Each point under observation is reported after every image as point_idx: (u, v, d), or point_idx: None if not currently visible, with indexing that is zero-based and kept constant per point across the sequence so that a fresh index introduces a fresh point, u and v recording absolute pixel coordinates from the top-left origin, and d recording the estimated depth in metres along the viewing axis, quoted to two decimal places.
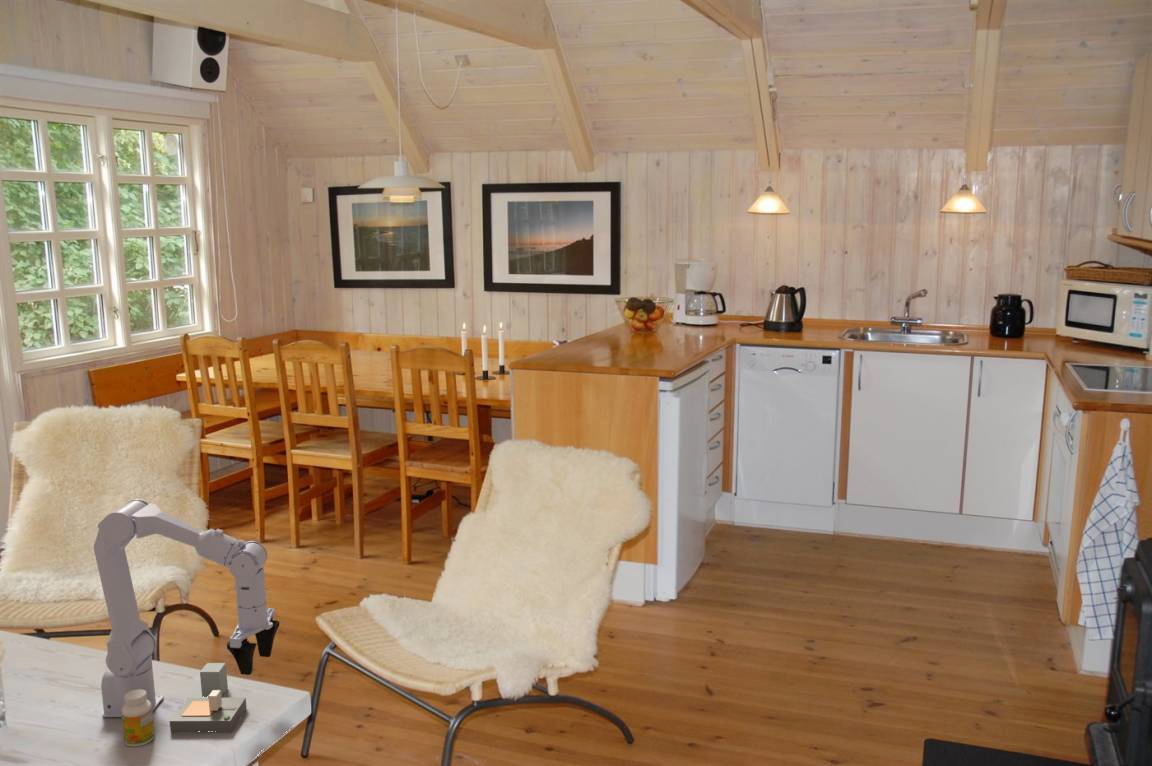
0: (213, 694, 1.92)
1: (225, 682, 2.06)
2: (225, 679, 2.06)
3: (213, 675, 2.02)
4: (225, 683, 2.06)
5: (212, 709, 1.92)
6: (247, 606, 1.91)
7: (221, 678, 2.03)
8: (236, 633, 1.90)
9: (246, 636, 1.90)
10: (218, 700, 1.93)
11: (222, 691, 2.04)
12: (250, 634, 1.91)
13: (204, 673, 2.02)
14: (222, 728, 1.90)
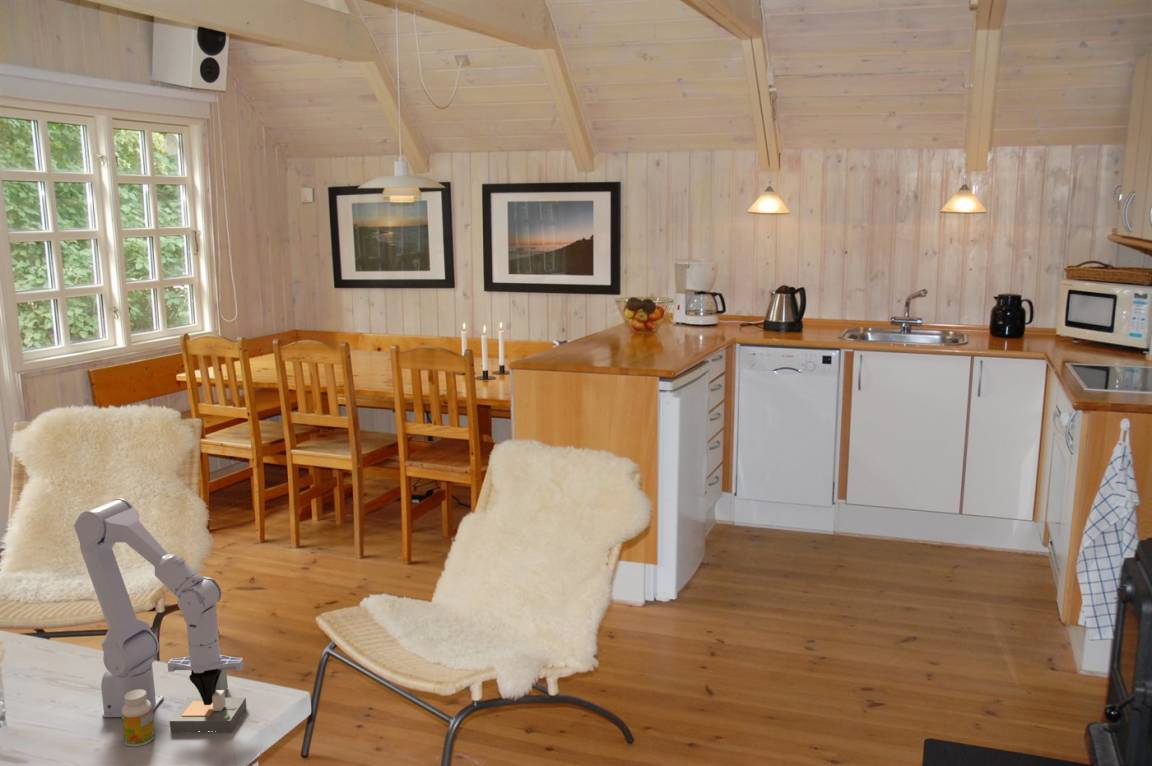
0: (217, 694, 1.92)
1: (225, 682, 2.06)
2: (225, 679, 2.06)
3: None
4: (225, 683, 2.06)
5: (216, 709, 1.92)
6: (195, 644, 1.88)
7: (221, 678, 2.03)
8: (184, 659, 1.93)
9: (177, 665, 1.90)
10: (222, 700, 1.93)
11: None
12: (181, 666, 1.90)
13: None
14: (222, 728, 1.90)
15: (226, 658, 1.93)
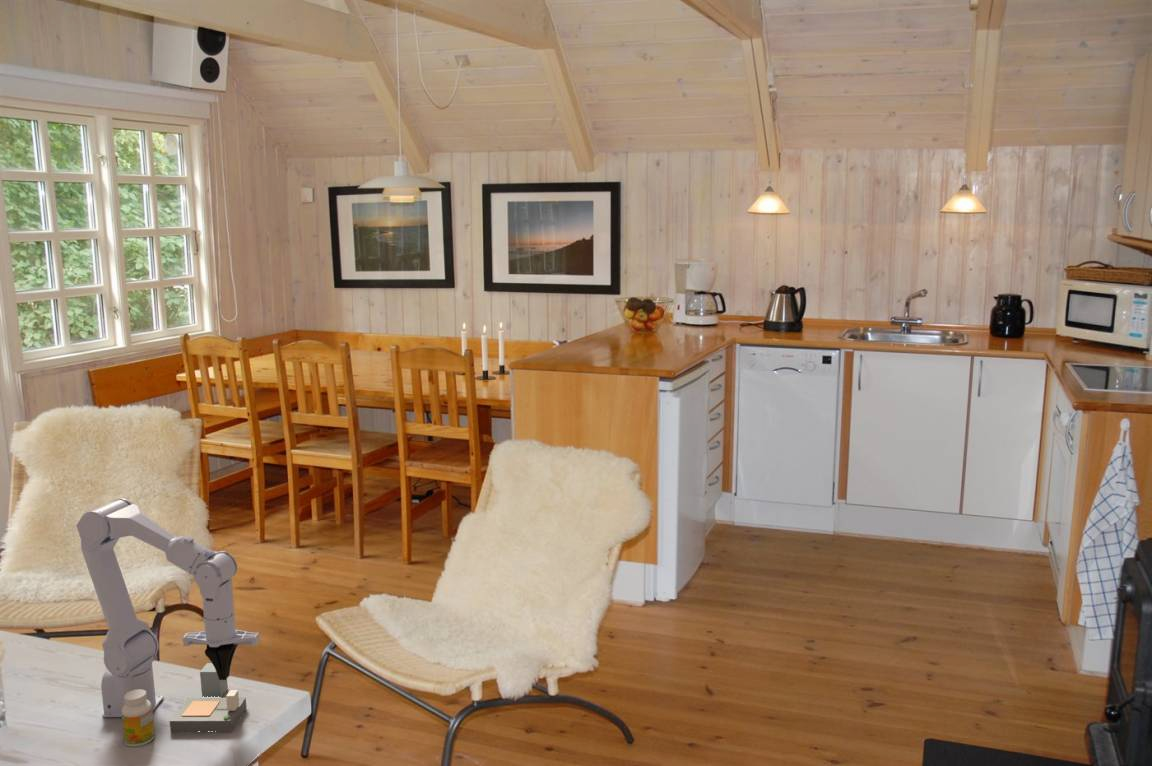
0: (230, 694, 1.92)
1: (225, 682, 2.06)
2: None
3: (213, 675, 2.02)
4: (225, 683, 2.06)
5: (230, 709, 1.92)
6: (211, 618, 1.87)
7: None
8: (199, 633, 1.92)
9: (193, 640, 1.89)
10: (236, 700, 1.93)
11: (222, 691, 2.04)
12: (197, 640, 1.89)
13: (204, 673, 2.02)
14: (222, 728, 1.90)
15: (242, 633, 1.92)
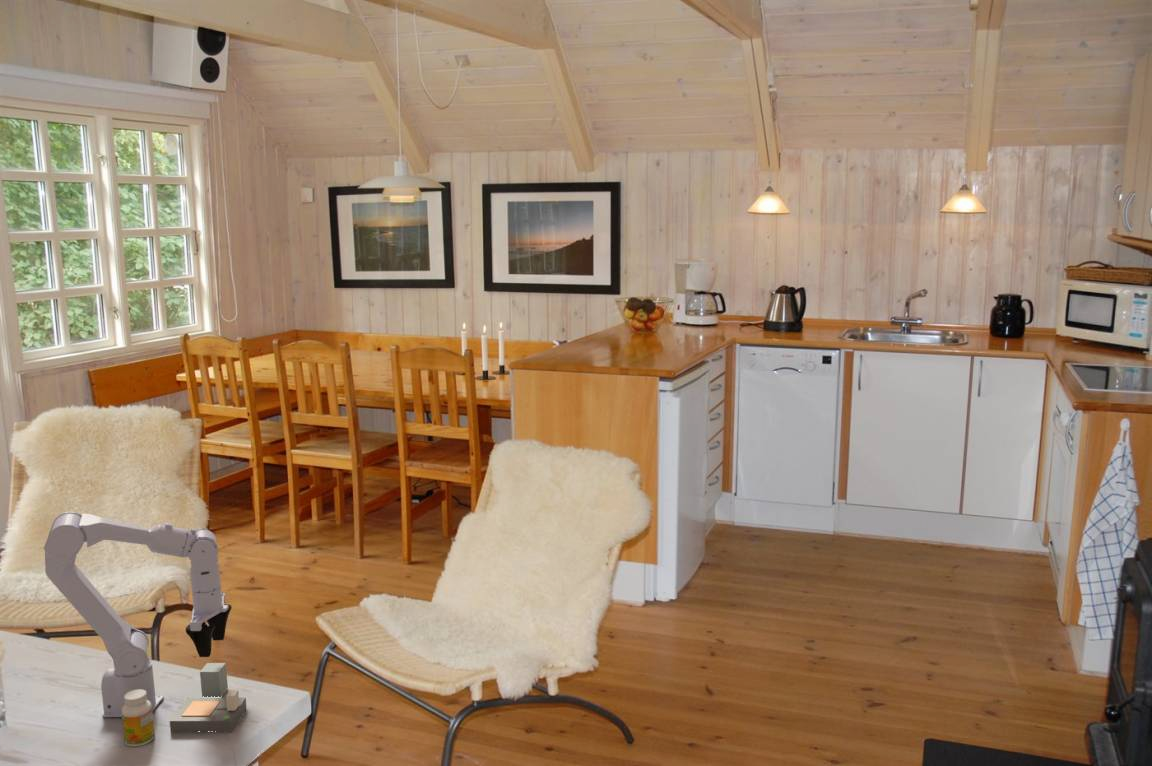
0: (230, 694, 1.92)
1: (225, 682, 2.06)
2: (225, 679, 2.06)
3: (213, 675, 2.02)
4: (225, 683, 2.06)
5: (230, 709, 1.92)
6: (207, 590, 1.98)
7: (221, 678, 2.03)
8: (194, 617, 1.97)
9: (205, 619, 1.96)
10: (236, 700, 1.93)
11: (222, 691, 2.04)
12: (209, 617, 1.97)
13: (204, 673, 2.02)
14: (222, 728, 1.90)
15: None
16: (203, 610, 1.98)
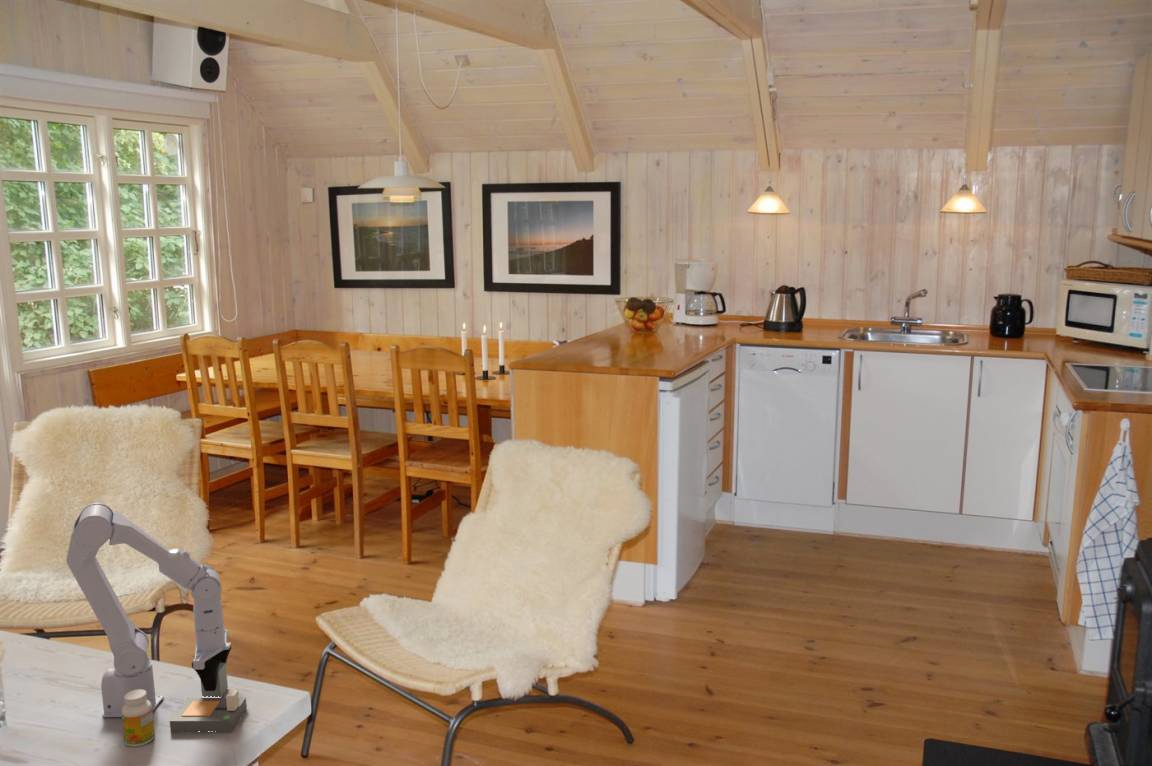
0: (230, 694, 1.92)
1: (225, 682, 2.06)
2: (225, 679, 2.06)
3: None
4: (225, 683, 2.06)
5: (230, 709, 1.92)
6: (210, 628, 2.00)
7: (221, 678, 2.03)
8: (197, 655, 1.98)
9: (208, 657, 1.98)
10: (236, 700, 1.93)
11: (222, 691, 2.04)
12: (211, 655, 1.99)
13: None
14: (222, 728, 1.90)
15: None
16: (206, 648, 2.00)
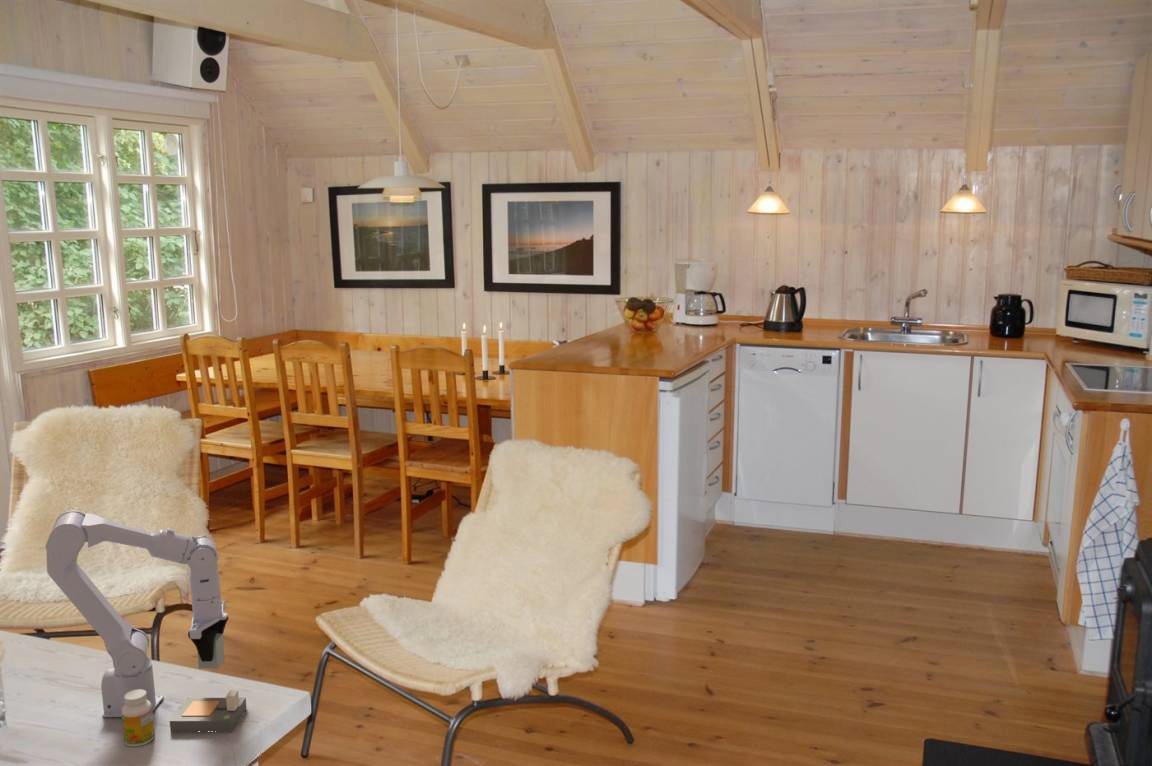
0: (230, 694, 1.92)
1: (222, 653, 2.04)
2: (222, 650, 2.04)
3: None
4: (222, 654, 2.04)
5: (230, 709, 1.92)
6: (207, 598, 1.98)
7: (218, 649, 2.01)
8: (194, 625, 1.97)
9: (205, 627, 1.96)
10: (236, 700, 1.93)
11: (219, 662, 2.02)
12: (208, 625, 1.97)
13: None
14: (222, 728, 1.90)
15: None
16: (203, 618, 1.98)
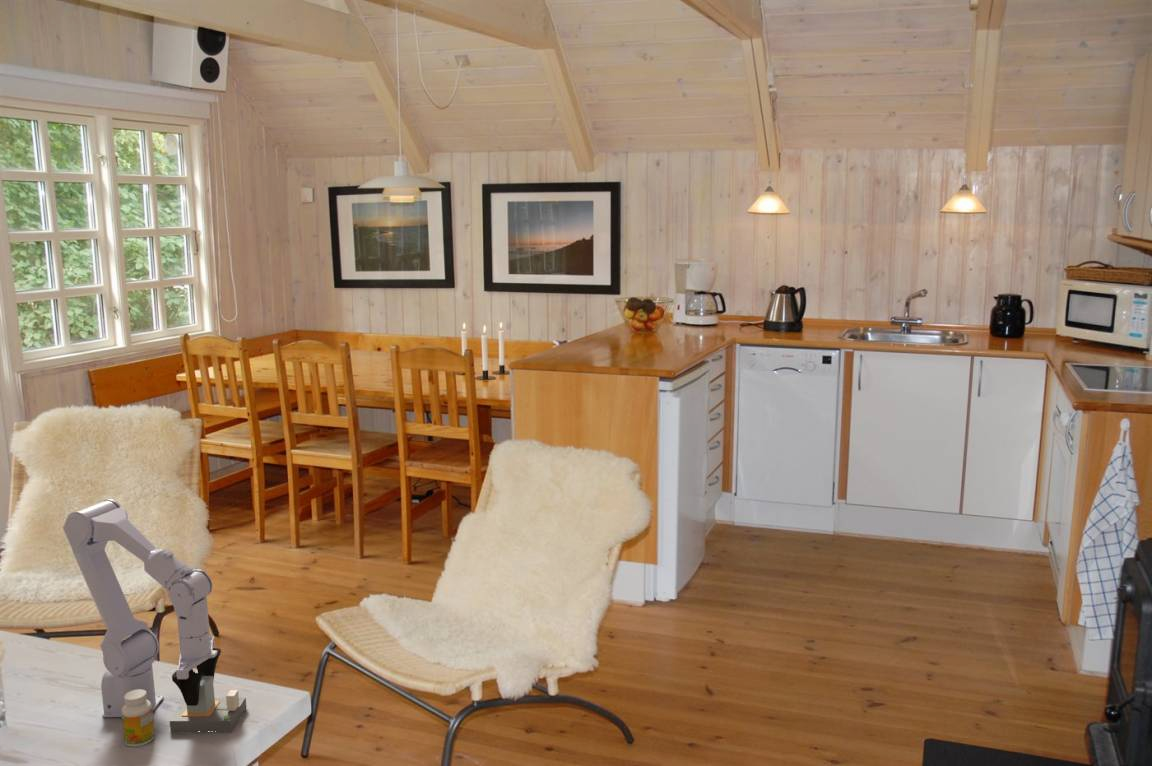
0: (230, 694, 1.92)
1: (212, 696, 1.94)
2: (212, 693, 1.94)
3: (199, 689, 1.91)
4: (212, 697, 1.94)
5: (230, 709, 1.92)
6: (185, 636, 1.88)
7: (207, 692, 1.92)
8: (181, 664, 1.87)
9: (193, 666, 1.87)
10: (236, 700, 1.93)
11: (208, 706, 1.93)
12: (196, 664, 1.87)
13: None
14: (222, 728, 1.90)
15: None
16: (191, 656, 1.89)
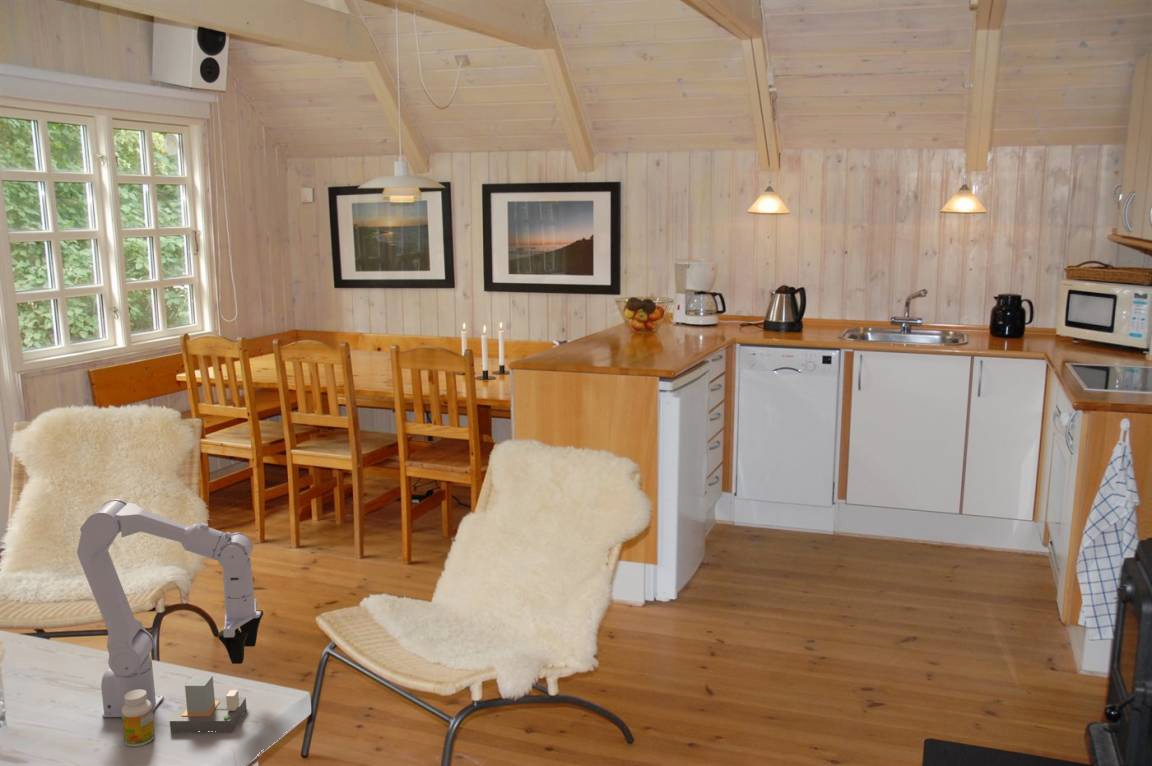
0: (230, 694, 1.92)
1: (212, 696, 1.94)
2: (212, 693, 1.94)
3: (199, 689, 1.91)
4: (212, 697, 1.94)
5: (230, 709, 1.92)
6: (237, 596, 1.95)
7: (207, 692, 1.92)
8: (227, 623, 1.94)
9: (238, 625, 1.93)
10: (236, 700, 1.93)
11: (208, 706, 1.93)
12: (242, 623, 1.94)
13: (189, 687, 1.91)
14: (222, 728, 1.90)
15: None
16: (236, 616, 1.95)
